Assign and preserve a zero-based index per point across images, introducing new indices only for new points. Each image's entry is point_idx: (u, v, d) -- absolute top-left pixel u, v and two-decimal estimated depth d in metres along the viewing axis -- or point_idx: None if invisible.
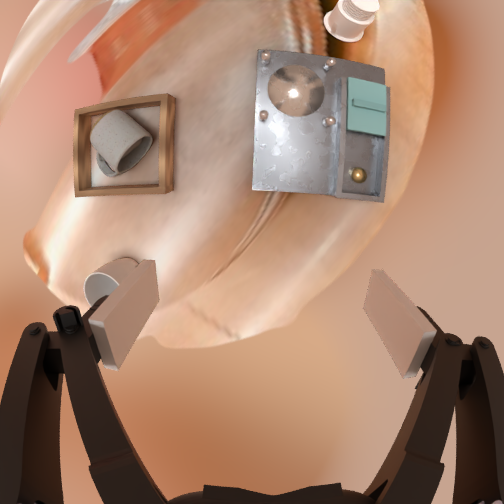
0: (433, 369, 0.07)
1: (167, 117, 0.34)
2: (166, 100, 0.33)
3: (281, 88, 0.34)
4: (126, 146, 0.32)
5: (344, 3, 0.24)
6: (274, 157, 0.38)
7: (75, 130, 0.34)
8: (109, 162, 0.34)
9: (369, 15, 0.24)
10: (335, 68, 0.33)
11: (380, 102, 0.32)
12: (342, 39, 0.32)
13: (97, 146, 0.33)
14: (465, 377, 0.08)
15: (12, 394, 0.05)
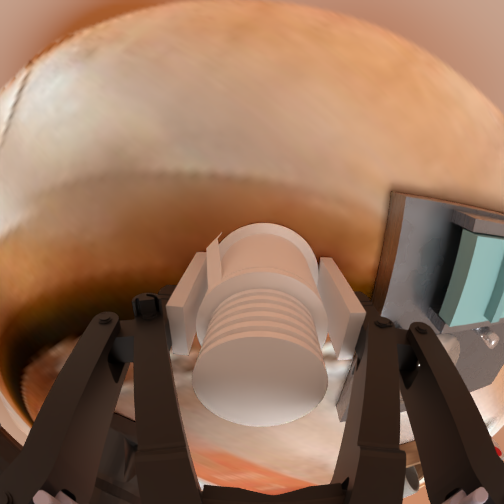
0: (367, 356, 0.08)
1: None
2: None
3: None
4: (412, 492, 0.22)
5: None
6: (480, 374, 0.19)
7: None
8: None
9: None
10: (402, 320, 0.17)
11: (500, 254, 0.12)
12: None
13: None
14: (402, 363, 0.10)
15: (66, 382, 0.06)
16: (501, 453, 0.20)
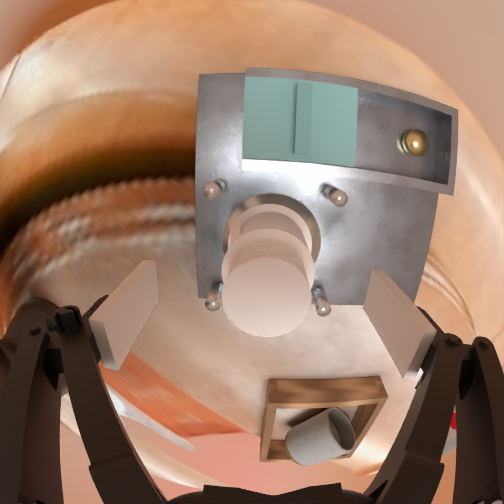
0: (433, 369, 0.07)
1: (300, 401, 0.28)
2: (277, 403, 0.28)
3: None
4: (338, 449, 0.26)
5: None
6: None
7: (283, 460, 0.33)
8: None
9: (304, 272, 0.15)
10: (219, 171, 0.21)
11: (288, 91, 0.16)
12: None
13: None
14: (465, 377, 0.08)
15: (12, 394, 0.05)
16: None
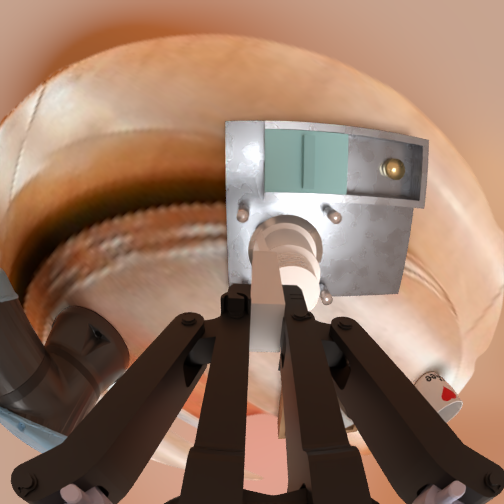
0: (291, 353, 0.09)
1: None
2: None
3: None
4: (346, 419, 0.34)
5: None
6: (369, 273, 0.31)
7: None
8: None
9: (314, 273, 0.22)
10: (244, 199, 0.29)
11: (297, 140, 0.24)
12: None
13: None
14: None
15: (132, 381, 0.07)
16: (457, 397, 0.32)
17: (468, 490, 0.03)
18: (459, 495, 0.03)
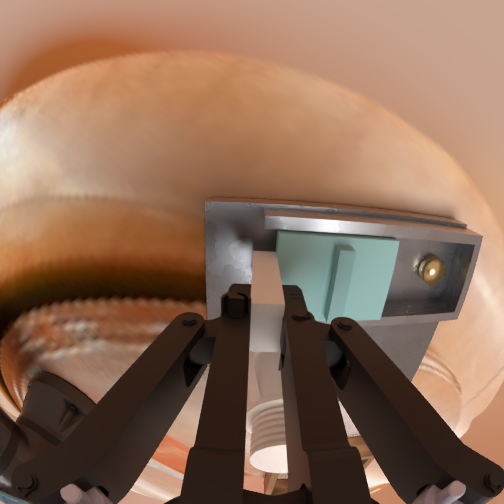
0: (291, 353, 0.09)
1: None
2: None
3: None
4: None
5: None
6: None
7: None
8: None
9: None
10: None
11: (327, 251, 0.16)
12: None
13: None
14: None
15: (132, 381, 0.07)
16: None
17: (468, 490, 0.03)
18: (459, 495, 0.03)
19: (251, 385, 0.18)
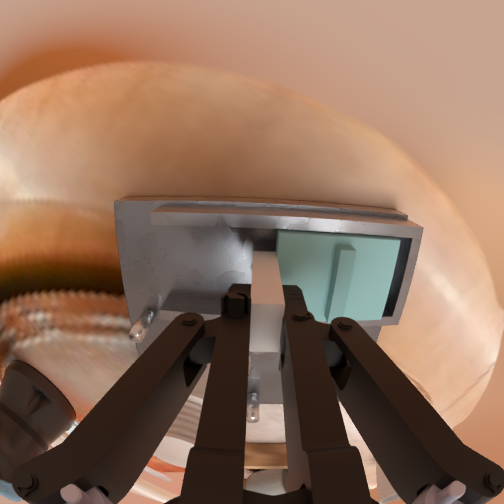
0: (291, 353, 0.09)
1: (249, 463, 0.28)
2: None
3: None
4: None
5: None
6: None
7: None
8: None
9: None
10: (147, 303, 0.21)
11: (327, 251, 0.16)
12: None
13: None
14: None
15: (133, 381, 0.07)
16: None
17: (468, 490, 0.03)
18: (459, 495, 0.03)
19: None
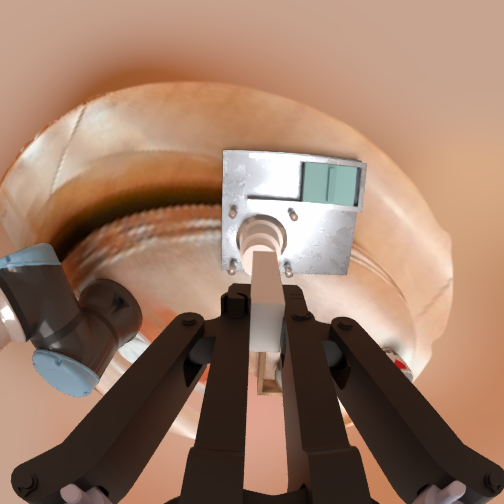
0: (291, 353, 0.09)
1: None
2: None
3: None
4: None
5: None
6: (322, 258, 0.46)
7: (273, 394, 0.55)
8: None
9: (274, 251, 0.36)
10: (234, 203, 0.43)
11: (325, 170, 0.38)
12: (281, 245, 0.45)
13: None
14: None
15: (132, 381, 0.07)
16: (407, 369, 0.47)
17: (468, 490, 0.03)
18: (459, 495, 0.03)
19: (243, 234, 0.40)
